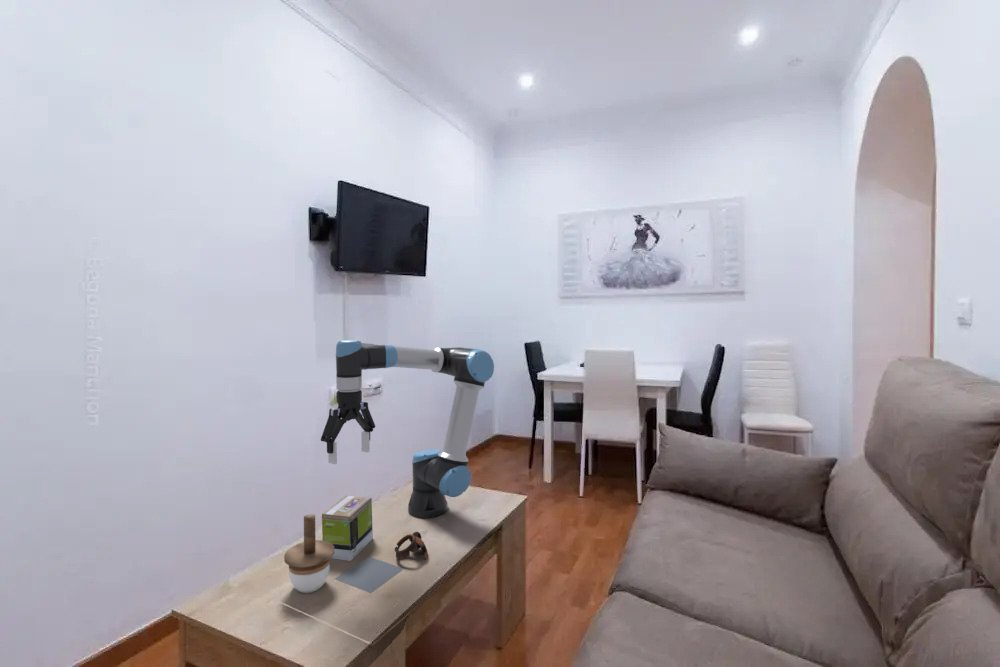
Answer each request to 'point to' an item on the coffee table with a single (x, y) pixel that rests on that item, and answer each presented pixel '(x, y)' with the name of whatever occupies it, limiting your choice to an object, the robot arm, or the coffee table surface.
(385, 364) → the robot arm
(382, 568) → the mat
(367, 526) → the tea box
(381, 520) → the coffee table surface
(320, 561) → the tan wooden handled piece
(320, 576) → the lidded jar
